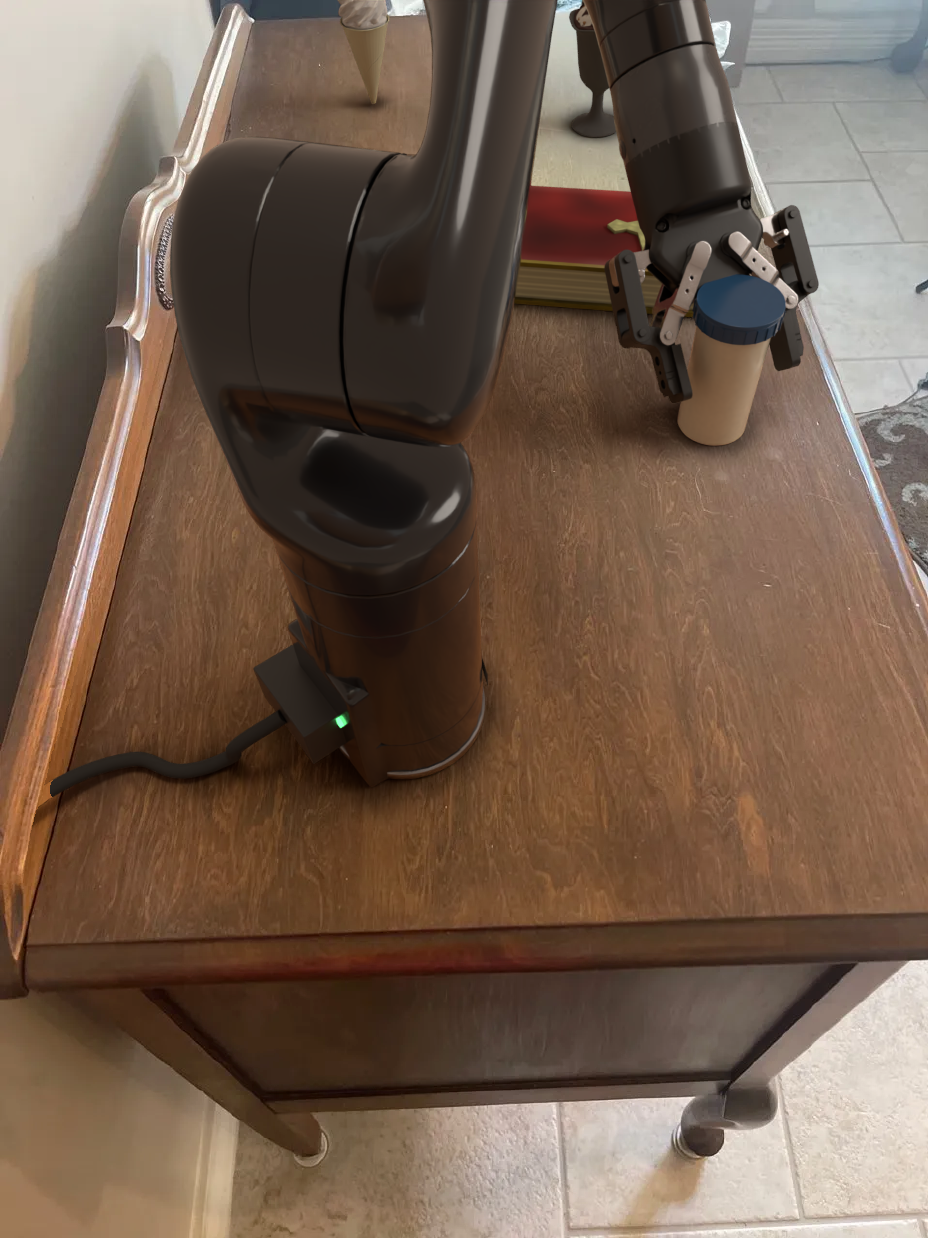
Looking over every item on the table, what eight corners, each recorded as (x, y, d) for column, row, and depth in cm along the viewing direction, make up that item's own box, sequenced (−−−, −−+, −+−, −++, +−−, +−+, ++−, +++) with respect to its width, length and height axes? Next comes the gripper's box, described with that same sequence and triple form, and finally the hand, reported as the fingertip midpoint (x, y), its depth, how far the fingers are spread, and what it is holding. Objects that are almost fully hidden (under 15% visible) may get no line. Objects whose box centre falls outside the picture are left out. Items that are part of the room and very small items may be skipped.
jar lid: (738, 357, 59) (743, 339, 58) (673, 314, 62) (677, 296, 60) (800, 321, 61) (806, 303, 60) (734, 281, 64) (739, 262, 62)
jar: (711, 455, 67) (741, 339, 58) (663, 419, 69) (685, 302, 61) (759, 425, 68) (795, 308, 60) (710, 390, 71) (738, 273, 62)
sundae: (625, 143, 92) (644, -29, 80) (559, 139, 93) (567, -32, 81) (631, 111, 96) (650, -58, 84) (568, 107, 97) (577, -60, 85)
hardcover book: (480, 220, 85) (479, 176, 82) (710, 235, 83) (719, 190, 79) (457, 298, 79) (455, 254, 75) (707, 318, 76) (717, 272, 72)
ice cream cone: (340, 106, 99) (317, -59, 87) (369, 87, 101) (351, -76, 89) (377, 118, 97) (359, -49, 85) (406, 98, 99) (392, -67, 87)
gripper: (604, 144, 56) (670, 407, 59) (805, 95, 59) (858, 348, 62) (562, 186, 63) (622, 418, 66) (742, 140, 66) (792, 365, 69)
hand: (736, 384), depth 64 cm, fingers open, 8 cm apart
